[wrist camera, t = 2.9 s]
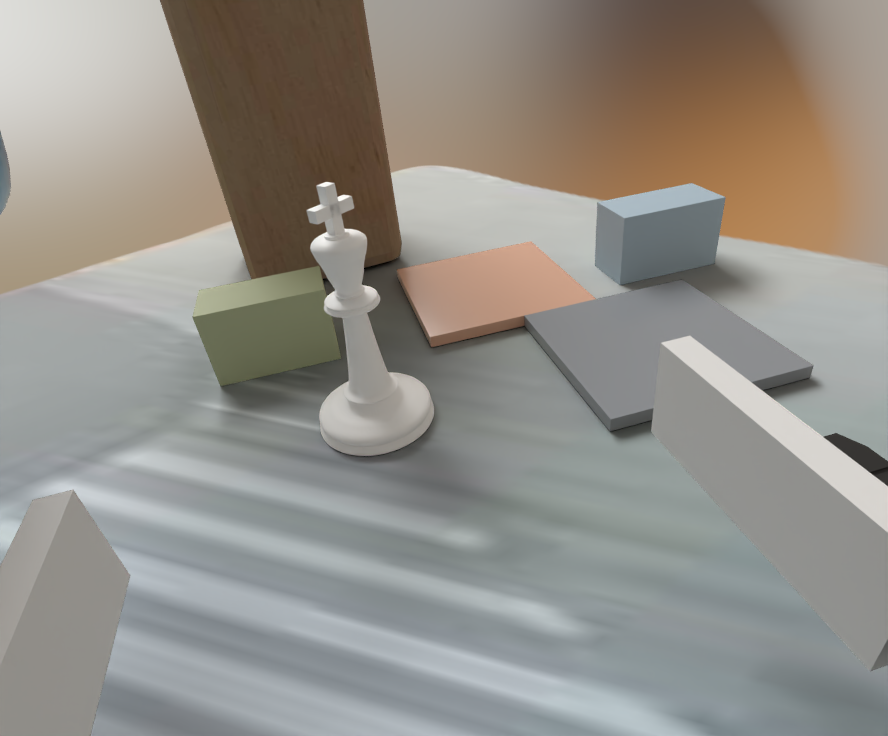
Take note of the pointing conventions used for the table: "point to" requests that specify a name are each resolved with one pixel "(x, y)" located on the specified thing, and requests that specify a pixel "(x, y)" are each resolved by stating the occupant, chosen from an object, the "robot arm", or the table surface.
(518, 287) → the pad terracotta
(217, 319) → the brick olive
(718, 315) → the pad slate
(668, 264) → the brick blue
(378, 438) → the chess piece
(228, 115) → the wooden block
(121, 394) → the table surface
